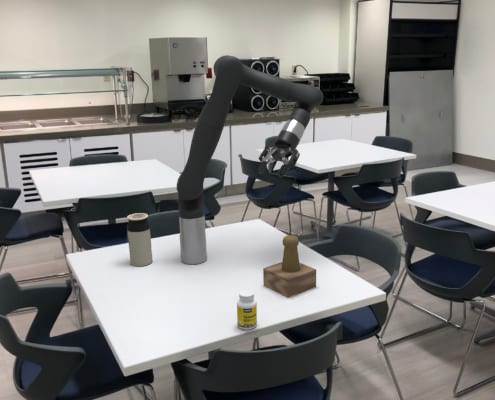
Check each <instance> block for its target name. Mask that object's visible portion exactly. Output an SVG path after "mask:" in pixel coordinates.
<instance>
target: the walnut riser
mask: <svg viewBox="0 0 495 400" xmlns="http://www.w3.org/2000/svg"><path fill="white" fill-rule="evenodd" d="M299 263H300V270H299V271H298V272H293V273H289V272H284V271H282V261H281V262H278V263H275V264H272V265H269V266H266V267H263V270H262V271H263V273H262V274H263V277H262V279H263V286H264V287H266V288H268V289H270V290H272V291H273V292H276V293H277V294H280V295H282V296H284V297H286V298H288V299H289V298H292V297H294V296H296V295H300V294H302V293H304V292H307V291H309V290H311V289H314V288H316V287H317V269H316V268H314V267H311V266H310V265H309V266H308V265H306V264H304V263H301V262H299Z"/></svg>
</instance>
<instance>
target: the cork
mask: <svg viewBox="0 0 495 400" xmlns="http://www.w3.org/2000/svg"><path fill="white" fill-rule="evenodd" d="M299 243H300V240H299V238H298V236H296V235H293V234H291V235H289V234H288V235H285V236H284V237H282V245H283V253H282V254H283V255H282V261H281V262H282V271H284V272H289V273H293V272H298V271H299V270H300V263H301V262H300V257H299V256H300V255H299V251H298V250H299V249H298V246H299Z"/></svg>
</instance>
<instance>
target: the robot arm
mask: <svg viewBox="0 0 495 400" xmlns="http://www.w3.org/2000/svg"><path fill="white" fill-rule="evenodd" d="M212 70H213V74H214V76H215V79H214V82H213V86H212V90H211V93H210V96H209V98H208V100H207V101H206V103H205V104H204V105H203V108H202V110H201V112H200V113H199V116H198V118H197V121H196V124H195V127H194V130H193V135H192V138H191V142H190V148H189V153H188V157H187V161H186V163H185V166H184V169H183V170H182V173H181V174H179V177H178V178H177V182H176V191H177V194H178V195H177V196H178V198H177V199H178V219H179V221H178V222H179V248H180V260H181V262H182V263H183V264H186V265H198V264H202V263H205V262H206V261H207V260H208V254H207V253H208V252H207V236H206V235H207V233H206V218H205V217H206V216H205V194H204V193H205V191H204V183H205V180H206V179H205V178H206V175H207V171H208V167H209V164H210V162H211V160H212V158H213V156H214V153H215V152H216V149H217V146H218V144H219V142H220V140H221V136H222V133H223V131H224V128H225V125H226V121H227V118H228V114H229V110H230V106H231V105H232V104H231V103H232V101H233V98H234V96H235V94H236V91H237V90H238V87H239V85H240V86H241V85H242V86H246V87H248V88H252V89H254V90H257V91H259V92H261V93H262V94H265V95H267V96H270V97H273V98H276V99H279V100H280V101H284V102H285V103H286V102H287V103H291V102H292V103H293V102H294V106H293V109H292V111H291V113H290V115H289V116H288V118H287V121H286V122H285V123H284V124H283V125H282V128H281V129H280V132H279V133H278V136H277V138H276V139H275V141H274V145H273V147H270V146H268V145H266V146H265V147H264V148H263V150H262V151H261V153H260V155H259V157H258V160H259V161H260V164H259V166H258V168H257V172H258V173H259V174H260V175H263V174H264V172H265V170H266V169H267V167H268V165H269V164H272V163H274V162H281V163H283V164H281V166H280V168H279V170H278V172H277V176H278V177H279V178H283V177H284V176H285V175H286V173H287V171H288V169H290V168H292V169H293V168H295V166H296V164H297V162H298V160H299V158H300V156H301V153H300V152H299V150H298V149H297V147H298V145H299V144H300V142H301V139H302V137H303V136H304V133H305V130H306V129H307V127H308V126H309V123H310V120H311V113H312V111H313V110H314V109H315V108H317V107H318V106H320V105H321V104H323V101H324V93H323V92H322V90H321V89H320V88H318V87H316V86H315V85H311V84H305V83H297V82H293V81H291V80H288V79H285V78H282V77H279V76H276V75H273V74H271V73H266V72H263V71H259V70H256V69H254V68H252V67H249V66H247V65H246V64H244V63H243V62H242V61H241V60H240V59H239V58H238V57H236V56H233V55H229V54H228V55H227V54H225V55H222V56H220V57H218V58H217V59H216V60H215V62H214V64H213V69H212Z"/></svg>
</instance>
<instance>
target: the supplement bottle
mask: <svg viewBox="0 0 495 400" xmlns="http://www.w3.org/2000/svg"><path fill="white" fill-rule="evenodd" d="M238 297H239V298H238V300H237V302H236V314H237V315H236V317H237V318H236V319H237V321H236V322H237V327H238V328H239V329H241V330H247V331H248V330H252V329H254V328H256V326H258V325H257V324H258V317H257V316H258V315H257V313H258V310H257V308H258V306H257V300H256V299H255V292H254V291H253V290H250V289H245V290H241V291H240V292H239V296H238Z"/></svg>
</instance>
